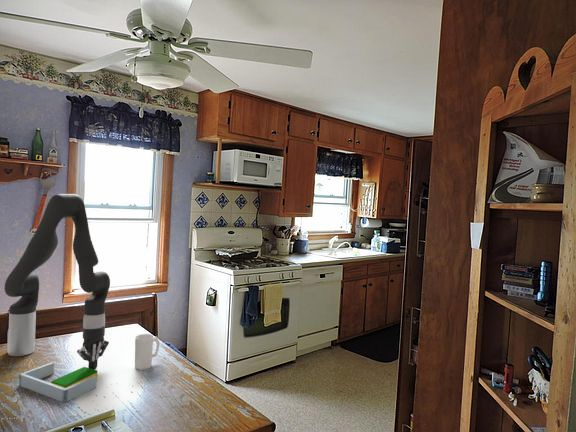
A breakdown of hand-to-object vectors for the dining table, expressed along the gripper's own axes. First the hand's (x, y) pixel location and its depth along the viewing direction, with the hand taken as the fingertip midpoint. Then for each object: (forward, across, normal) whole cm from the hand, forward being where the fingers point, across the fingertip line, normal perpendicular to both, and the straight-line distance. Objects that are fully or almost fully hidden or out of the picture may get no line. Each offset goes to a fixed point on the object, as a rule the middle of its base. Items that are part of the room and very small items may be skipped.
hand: (92, 369), depth 152 cm
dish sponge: (+1, +8, +1) cm, 9 cm away
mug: (+1, -15, +13) cm, 20 cm away
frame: (+1, +14, 0) cm, 14 cm away
